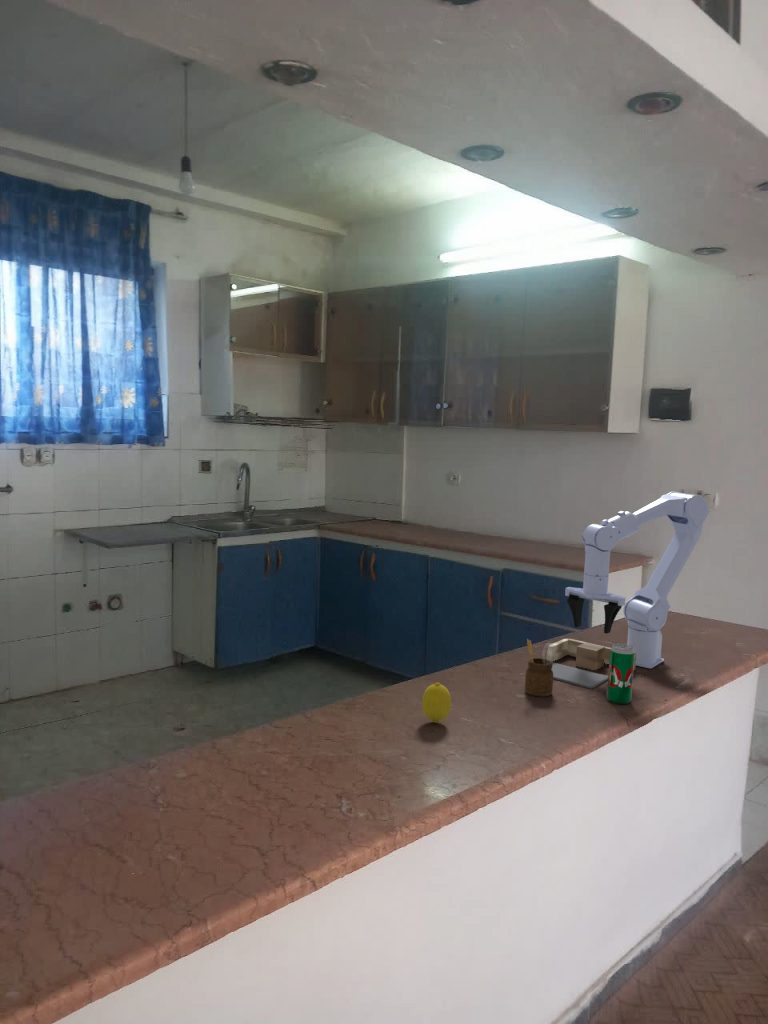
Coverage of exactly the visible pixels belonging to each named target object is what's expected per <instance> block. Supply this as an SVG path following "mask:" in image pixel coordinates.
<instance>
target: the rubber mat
mask: <svg viewBox="0 0 768 1024" xmlns="http://www.w3.org/2000/svg"><path fill="white" fill-rule="evenodd" d="M552 671H553V680H557V681H560V682H565V683H567V684H572V685H576V686H578V687H579V686H580V687H582V688H587V689H590V690H591V689H594V688H596V687H597V686H599V685H601V684H603V683H604V682H607V681H608V675H605V674H603V673H597V672H595V671H591V670H586V669H583V668H578V667H573V666H571V665H570V666H568V665H565V664H560V663H557V662H552Z"/></svg>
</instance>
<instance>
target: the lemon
mask: <svg viewBox="0 0 768 1024" xmlns="http://www.w3.org/2000/svg"><path fill="white" fill-rule="evenodd" d="M451 698H452V697H451V694H450V691H449V690H448V688H447V687H446V686H445V685H443V684H441V683H440V682H435V683H433V684H431V685H429V686H428V687H427V688H425V691H424V692H423V696H422V701H421V703H422V704H421V705H422V707H421V708H422V711H423V713H424V715H425V717H427V718H428V719H429V720H431V721H432V722H433V723H434V724H437V723H438V722H439V721H443V720H444V719H445V718H447V717H448V715H449V714H450V711H451V707H452V699H451Z"/></svg>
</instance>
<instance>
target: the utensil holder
mask: <svg viewBox="0 0 768 1024" xmlns="http://www.w3.org/2000/svg"><path fill="white" fill-rule="evenodd" d="M526 643H527V650H528V653H529V655H530V658H529V660H528V661H527V666H528V667H527V668H526V670H525V678H524V679H525V683H524V691H525V692H526V694H528V695H530V696H534V697H539V698H540V697H542V698H543V697H544V698H545V697H549V696H551V695H552V694H553V685H554V679H553V671H552V662H551V661H550V660H547V659H548V658H547V654H546V655H545V652H546V651H547V652H548V650H547V649H548V648H549V647H548V646H549V645H553V643H551V642H550V643H546V644H545V645H544V646H545V647H543V650H544V651H542V657H540V658H539V657H534V656H533V655H534V650H533V646H532V645H533V644H532V640H530V639H528V638H527V639H526ZM550 647H551V646H550ZM553 647H554V645H553ZM546 648H547V649H546ZM553 649H554V648H553ZM547 652H546V653H547ZM551 653H552V652H551ZM552 654H554V653H552ZM545 656H546V657H545ZM551 657H553V656H551ZM549 659H552V658H549Z"/></svg>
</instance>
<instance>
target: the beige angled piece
mask: <svg viewBox="0 0 768 1024" xmlns="http://www.w3.org/2000/svg"><path fill="white" fill-rule="evenodd" d="M584 643H588V642H587V641H586V642H585V641H582V640H577V639H573V638H568V637H565V638H563V639H561V640H558V641H556V642H553V643H552V644H553V645H554V647H553V645H551V644H550V645H549V644H548V645H547V651H548V652H546V655H547V656H546V659H547V658H548V659H547V660H550V661H551V662H553V661H554V662H555V660H556V661H557V660H560V659H563V658H564V656H565V657H566V655H567V656H569V655H570V657H574V658H576V654H577V646H579V645H581V644H584ZM589 643H590V644H592V643H591V642H589ZM594 644H595V643H594ZM595 645H597V644H595ZM598 645H599V646H601V644H598ZM550 646H551V647H550ZM603 646H604V645H603ZM548 647H549V648H548ZM604 647H605V654H604V663H605V664H604V665H607V664H609V660H610V649H611V648H612V647H608V646H604ZM553 648H554V649H553ZM551 652H552V653H554V654H552V653H551ZM551 656H553V657H551ZM549 658H552V659H549ZM554 662H553V663H554ZM636 666H637V665H636V653H635V660H634V671H635V670H636V668H637V667H636Z"/></svg>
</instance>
